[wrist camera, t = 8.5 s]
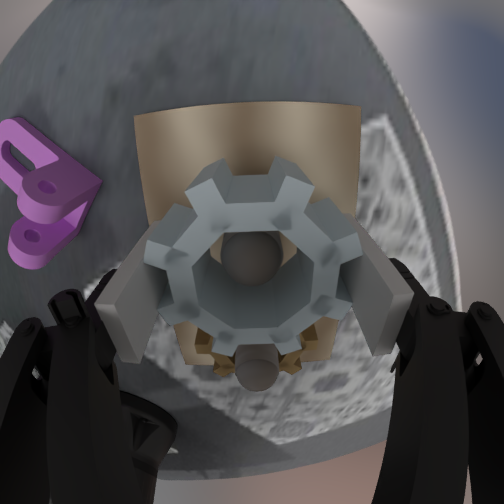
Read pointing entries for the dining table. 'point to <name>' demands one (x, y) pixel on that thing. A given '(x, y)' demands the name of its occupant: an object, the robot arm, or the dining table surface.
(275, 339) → the gear
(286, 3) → the dining table surface
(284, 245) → the gear board
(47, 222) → the bracket
